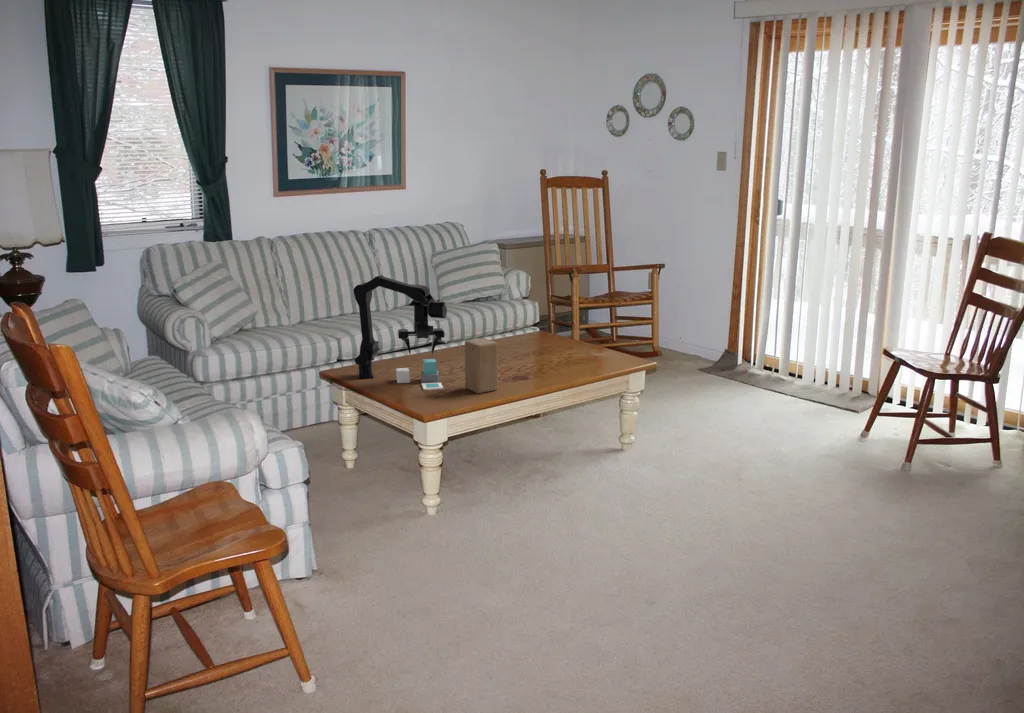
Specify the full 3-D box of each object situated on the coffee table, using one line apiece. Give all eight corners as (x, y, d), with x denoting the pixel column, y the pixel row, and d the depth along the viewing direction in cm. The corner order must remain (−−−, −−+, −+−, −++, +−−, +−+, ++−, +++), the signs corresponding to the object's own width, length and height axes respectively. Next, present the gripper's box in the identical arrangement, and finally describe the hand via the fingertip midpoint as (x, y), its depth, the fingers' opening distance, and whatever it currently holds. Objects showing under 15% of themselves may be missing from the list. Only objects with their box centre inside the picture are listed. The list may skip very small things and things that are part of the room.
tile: (421, 384, 369) (421, 383, 368) (441, 383, 370) (441, 382, 370) (423, 390, 361) (423, 388, 361) (443, 389, 363) (443, 387, 362)
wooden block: (478, 394, 356) (477, 345, 351) (464, 388, 364) (463, 340, 359) (498, 390, 362) (498, 341, 357) (484, 384, 369) (484, 337, 364)
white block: (396, 380, 376) (396, 368, 375) (408, 379, 377) (408, 367, 376) (397, 383, 371) (397, 371, 370) (409, 382, 372) (409, 371, 371)
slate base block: (422, 379, 378) (421, 370, 377) (438, 379, 378) (438, 370, 377) (421, 384, 371) (420, 374, 370) (438, 384, 371) (437, 374, 370)
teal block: (423, 371, 375) (422, 359, 374) (435, 370, 376) (434, 358, 375) (424, 374, 371) (424, 362, 369) (436, 373, 372) (436, 361, 370)
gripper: (399, 321, 359) (399, 359, 363) (446, 320, 362) (446, 358, 366) (397, 315, 369) (397, 352, 373) (442, 314, 373) (442, 351, 377)
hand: (421, 353), depth 372 cm, fingers open, 9 cm apart
